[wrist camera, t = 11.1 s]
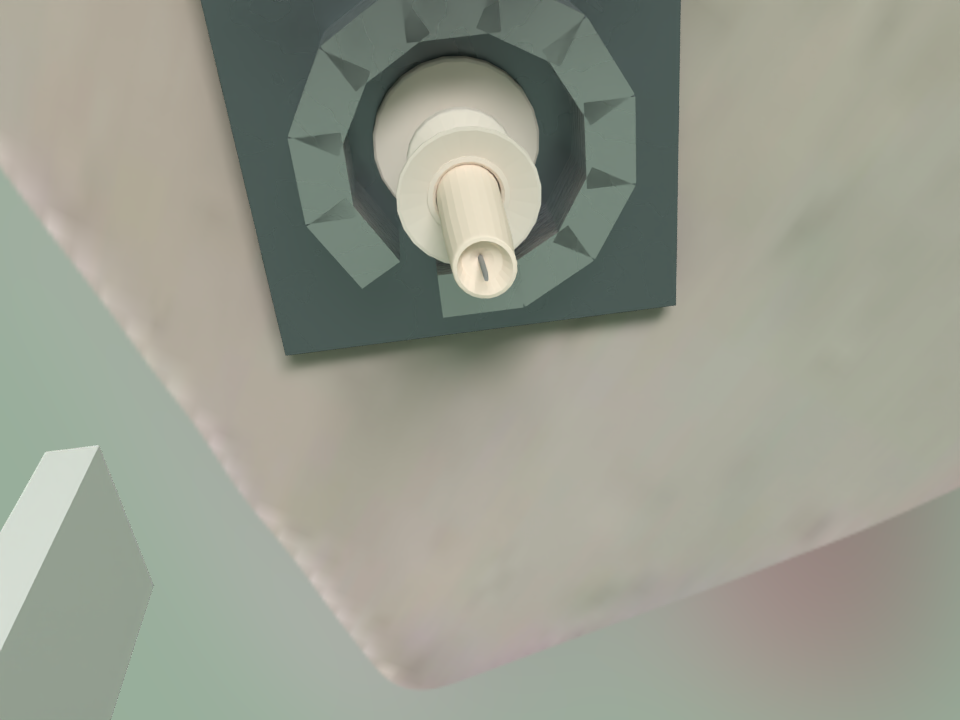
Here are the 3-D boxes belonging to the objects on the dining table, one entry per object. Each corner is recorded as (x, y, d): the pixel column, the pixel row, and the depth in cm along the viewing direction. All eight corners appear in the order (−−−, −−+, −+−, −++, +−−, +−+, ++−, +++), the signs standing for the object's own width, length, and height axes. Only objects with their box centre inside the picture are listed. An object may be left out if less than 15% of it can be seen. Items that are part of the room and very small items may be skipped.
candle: (337, 129, 28) (315, 269, 19) (468, 17, 27) (509, 110, 18) (444, 247, 30) (469, 421, 21) (569, 149, 29) (651, 290, 20)
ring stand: (187, -85, 26) (161, -75, 23) (672, -141, 26) (710, -138, 23) (288, 341, 33) (278, 393, 30) (668, 293, 33) (696, 338, 30)
